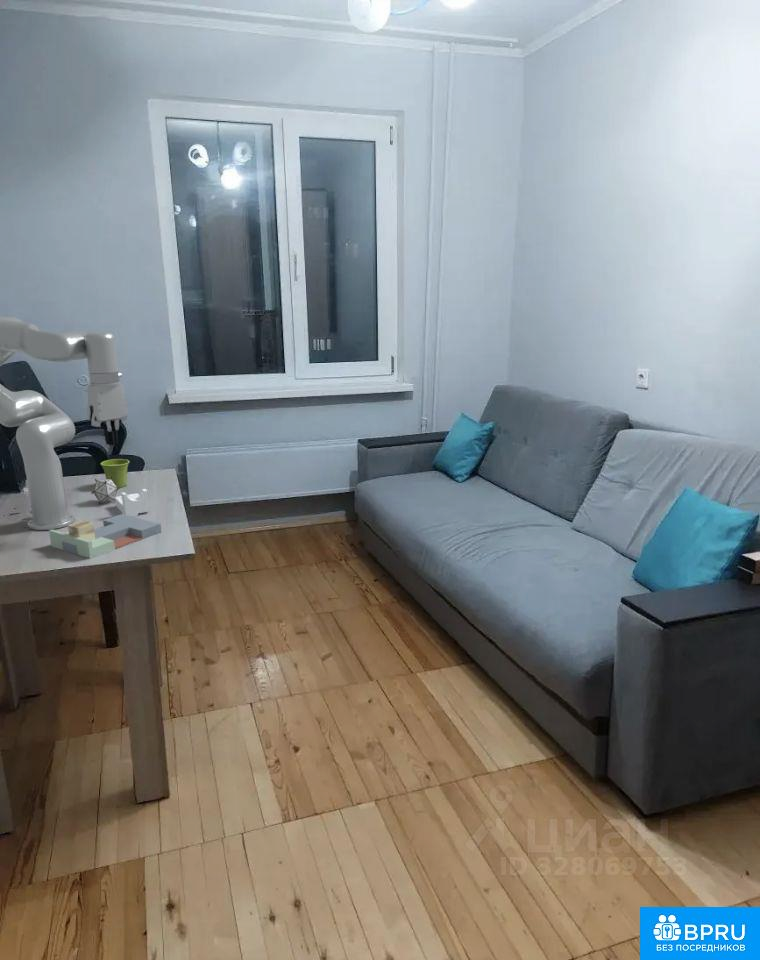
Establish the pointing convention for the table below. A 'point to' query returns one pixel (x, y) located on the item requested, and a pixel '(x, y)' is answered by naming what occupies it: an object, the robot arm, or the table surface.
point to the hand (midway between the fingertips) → (112, 444)
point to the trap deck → (106, 536)
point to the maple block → (82, 530)
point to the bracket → (133, 503)
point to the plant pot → (116, 471)
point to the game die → (105, 490)
